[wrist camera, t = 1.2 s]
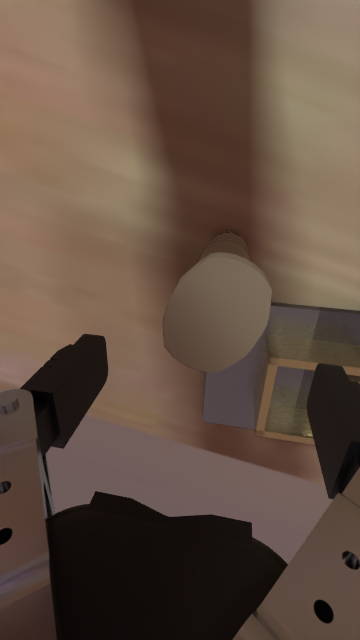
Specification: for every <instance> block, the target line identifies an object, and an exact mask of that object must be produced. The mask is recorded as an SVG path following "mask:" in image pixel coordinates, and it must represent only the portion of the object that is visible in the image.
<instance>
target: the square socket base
mask: <svg viewBox="0 0 360 640" xmlns="http://www.w3.org/2000/svg"><path fill="white" fill-rule="evenodd" d="M318 363H323V364H331V365H339V366H342V367H343V368H344V370H345V372H346V374H347V376H348V378H349V380H350V381H353V382H358V383H359V384H360V311H355V310H344V309H334V308H324V307H313V306H303V305H292V304H282V303H271V306H270V314H269V319H268V323H267V326H266V328H265V330H264V332H263V334H262V335H261V337H260V338H259V340H258V341H257V342H256V344H255V345H254V347H253V348H252V350H251V351H250V352H249V353H248V354H247V355H246V356H245V357H244V358H242V359H241V360H240V361H238V362H236V363H235V364H233V365H231V366H229V367H227V368H226V369H224V370H222V371H220V372H213V373H211V372H206V383H205V395H204V408H203V420H202V421H203V422H209V423H216V424H222V425H228V426H235V427H241V428H247V429H254V430H255V436H261V437H267V438H274V439H280V440H286V441H292V442H299V443H305V444H311V445H315V442H314V438H313V435H312V431H311V427H310V423H309V419H308V415H307V399H308V395H309V391H310V387H311V384H312V380H313V376H314V373H315V369H316V366H317V364H318Z"/></svg>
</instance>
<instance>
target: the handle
mask: <svg viewBox="0 0 360 640" xmlns="http://www.w3.org/2000/svg"><path fill="white" fill-rule="evenodd" d="M271 296H272V288H271V284H270V282H269V280H268V278H267V277H266V275H265V274H264V272H263V271H262V270H261V269H260V268H259V267H258V266H256V265H255V264H254V263H252V262H251V260H250V253H249V250H248V247H247V245H246V243H245V240H244V239H243V237H242V236H237V235H235V234H233V233H232V232H231V231H225V232H224V233H223V234H220V235H218V236H216V237H214V238H213V239H212V240H211V241H210V242H209V243H208V245H207V246H206V247H205V249H204V251H203V253H202V255H201V257H200V260H199V262H198V263H197V264H196V265H195V266H193V267H192V268H191V269H190V270H189V271H187V272H186V273H185V274H184V275H183V276H182V277H181V279H180V280H179V282H178V284H177V286H176V288H175V290H174V292H173V294H172V296H171V298H170V301H169V303H168V305H167V307H166V310H165V313H164V317H163V336H164V347H165V348H166V349H167V351H168V352H169V353H170V354H171V355H172V357H174V358H175V359H176V360H178V361H179V362H180V363H182V364H184V365H186V366H188V367H190V368H193V369H195V370H199V371H202V372H211V373H213V372H220V371H222V370H224V369H226V368H227V367H229V366H231V365H233V364H235V363H236V362H238V361H240V360H241V359H242V358H244V357H245V356H246V355H247V354H248V353H249V352H250V351H251V350H252V348H253V347H254V345H255V344H256V342H257V341H258V340H259V338H260V337H261V335H262V334H263V332H264V330H265V328H266V326H267V323H268V319H269V314H270V306H271Z"/></svg>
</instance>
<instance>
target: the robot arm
mask: <svg viewBox="0 0 360 640" xmlns="http://www.w3.org/2000/svg"><path fill="white" fill-rule="evenodd" d="M107 376H108V362H107V351H106V341H105V338H104V336H99V335H91V334H83V335H82V336H81V337H80V338H79V339H78V341H77V342H76V343H75V344H74V345H71V344H70V345H68V346H66V347H64V348H62V349H60V350H58V351H57V352H56V353H55V354H54V355H53V356H52V357H51V358H50V360H48V361H47V362H46V363H45V364H44V366H43V367H41V368H40V369H39V370H38V371H37V372H36V373H35V374H34V375H33V376H32V377H31V378H30V379H29V380H28V381H27V382H26V383H25V384H24V385H23V386H22V387H21V388H20V389H11V390H6V391H3V392H0V640H360V384H359V383H358V382H353V381H350V380H349V378H348V376H347V374H346V372H345V370H344V368H343V367H342V366H339V365H331V364H323V363H318V364H317V366H316V369H315V373H314V376H313V380H312V384H311V387H310V391H309V395H308V399H307V415H308V419H309V423H310V427H311V431H312V435H313V438H314V442H315V446H316V450H317V454H318V458H319V462H320V466H321V470H322V474H323V478H324V482H325V486H326V490H327V494H328V497H329V498H330V499H333V501H332V502H331V503H330V505H329V507H328V508H327V509H326V511H325V512H324V514H323V515H322V517H321V518H320V519H319V521H318V522H317V524H316V525H315V527H314V528H313V530H312V531H311V533H310V534H309V535H308V537H307V538H306V540H305V542H304V543H303V544H302V546H301V547H300V548H299V550H298V551H297V553H296V554H295V556H294V557H293V559H292V560H291V562H290V563H289V564H287V563H286V562H285V561H284V560H283V559H282V558H281V557H280V556H279V555H278V554H277V553H275V552H274V551H273V550H272V549H270V548H269V547H268V546H266V545H265V544H263V543H262V542H260V541H258V540H256V539H255V538H253V537H252V523H251V522H246V521H240V520H235V519H230V518H226V517H221V516H216V515H195V516H180V517H168V516H165V515H163V514H161V513H159V512H157V511H155V510H153V509H151V508H149V507H147V506H145V505H143V504H141V503H139V502H137V501H135V500H134V499H131V498H127V497H122V496H116V495H112V494H107V493H102V492H97V491H96V492H95V494H94V496H93V498H92V500H91V503H90V504H84V505H79V506H75V507H71V508H68V509H65V510H63V511H61V512H58V513H56V514H55V509H54V503H53V496H52V490H51V482H50V476H49V470H48V462H47V457H46V453H47V451H48V450H49V448H50V447H51V446H53V447H58V448H64V447H65V446H66V444H67V442H68V441H69V439H70V438H71V436H72V435H73V433H74V431H75V430H76V428H77V427H78V425H79V424H80V422H81V420H82V419H83V417H84V416H85V414H86V413H87V411H88V409H89V408H90V406H91V405H92V403H93V402H94V400H95V399H96V397H97V395H98V394H99V392H100V391H101V389H102V388H103V386H104V384H105V382H106V380H107Z"/></svg>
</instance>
